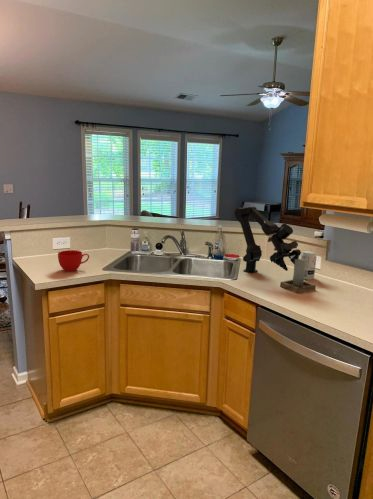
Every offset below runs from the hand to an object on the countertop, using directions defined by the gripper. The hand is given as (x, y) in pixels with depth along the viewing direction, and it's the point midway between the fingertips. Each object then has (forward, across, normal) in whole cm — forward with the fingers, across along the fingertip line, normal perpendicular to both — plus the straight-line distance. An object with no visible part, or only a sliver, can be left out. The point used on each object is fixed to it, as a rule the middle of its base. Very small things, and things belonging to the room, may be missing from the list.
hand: (293, 269), depth 189 cm
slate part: (+9, 0, +3) cm, 9 cm away
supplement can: (+2, +20, +11) cm, 23 cm away
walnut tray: (+9, 0, +4) cm, 10 cm away
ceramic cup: (-49, -90, +63) cm, 120 cm away
